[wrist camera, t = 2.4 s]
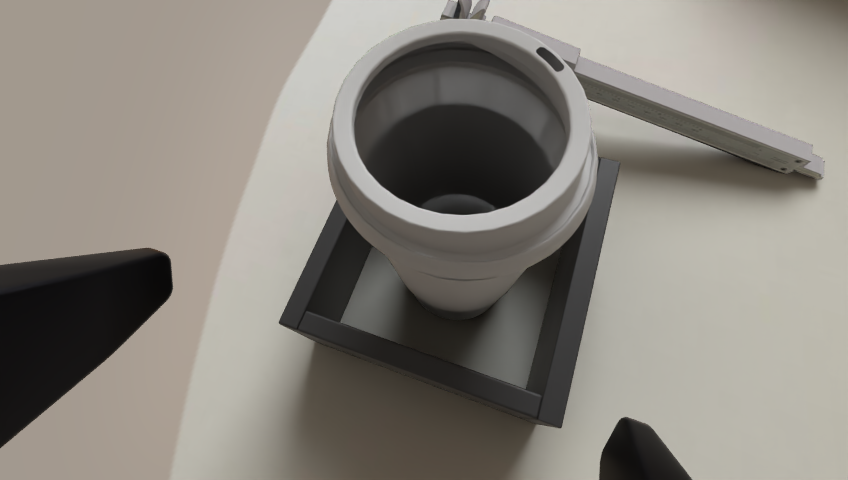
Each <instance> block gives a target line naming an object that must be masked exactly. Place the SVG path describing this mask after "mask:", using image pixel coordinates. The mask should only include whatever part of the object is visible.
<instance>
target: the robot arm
mask: <svg viewBox="0 0 848 480" xmlns="http://www.w3.org/2000/svg"><path fill="white" fill-rule="evenodd" d="M172 290H173V282H172V271H171V260H170V258H169V256H168V255H167V254H166V253H163V252H160V251H158V250H155V249H151V248H142V249H133V250H124V251H116V252H107V253H99V254H90V255H82V256H73V257H65V258H56V259H48V260H39V261H31V262H23V263H14V264H5V265H0V448H1V447H2V446H3V445H4V444H6V443H7V442H8V441H9V440H11V439H12V438H13V437H14V436H15V435H17V434H18V433H19V432H20V431H21V430H23V429H24V428H25V427H26V426H27V425H29V424H30V423H31V422H32V421H33V420H35V419H36V418H37V417H38V416H39V415H41V414H42V413H43V412H44V411H45V410H47V409H48V408H49V407H50V406H51V405H53V404H54V403H55V402H56V401H57V400H59V399H60V398H61V397H62V396H63V395H65V394H66V393H67V392H68V391H69V390H71V389H72V388H73V387H74V386H75V385H76V384H77V383H79V382H80V381H81V380H83V379H84V378H85V377H86V376H87V375H89V374H90V373H91V372H92V371H93V370H94V369H96V368H97V367H98V366H99V365H100V364H101V363H103V362H104V361H105V360H106V359H107V358H109V357H110V356H111V355H112V354H113V353H114V352H115V351H116V350H117V349H118V348H119V347H120V346H121V345H122V344H123V343H124V342H125V341H126V340H127V339H128V338H129V337H130V336H131V335H133V334H134V332H136V331H137V330H138V329H139V328H140V327H141V325H143V323H145V322H146V321H147V320H148V319H149V318H150V317H151V316H152V315H153V314H154V313H155V312H156V311H157V310H158V309H159V308H160V306H162V305H163V304H164V303H165V302H166V301H167V300H168V298H169V297H170V296H171V293H172ZM599 480H692V479H691V477H690V476H689V475H688V474H687V472H686V471H685V470H684V468H683V467H682V466H681V465H680V463H679V462H678V461H677V459H676V458H675V457H674V456H673V454H672V453H671V452H670V451H669V449H668V448H667V447H666V445H665V444H664V443H663V442H662V440H661V439H660V438H659V436H658V435H657V434H656V433H655V431H654V430H653V429H652V428H651V427H650V426H649V425H647V424H645V423H642V422H639V421H637V420H634V419H631V418H628V417H624V418H621V419H620V420H619V422H618V423H617V425H616V427H615V429H614V431H613V432H612V434H611V436H610V438H609V440H608V441H607V443H606V445H605V447H604V449H603V452H602V455H601V460H600V474H599Z"/></svg>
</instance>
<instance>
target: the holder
mask: <svg viewBox="0 0 848 480" xmlns="http://www.w3.org/2000/svg"><path fill="white" fill-rule="evenodd" d="M619 167H620V162H618V161H614V160H610V159H606V158H600V157H598V168H597V181H596V187H595V191H594V196H593V199H592V202H591V204H590V207H589V209H588V212H587V213H586V215H585V217H584V219H583V221H582V222H581V224H580V225H579V227H578V228H577V230H576V231H575V232H574V233H573V235H572V236H571V237H570V238H569V239H568V240H567V241H566V242H565V243H564V244H563V246H562V250H561V254H560V258H559V262H558V266H557V270H556V274H555V277H554V281H553V285H552V289H551V293H550V297H549V301H548V305H547V309H546V313H545V316H544V320H543V324H542V328H541V332H540V336H539V340H538V344H537V348H536V351H535V355H534V359H533V363H532V367H531V371H530V375H529V379H528V383H527V387H526V389H523V388H520V387H518V386H515V385H512V384H509V383H506V382H504V381H501V380H498V379H495V378H493V377H490V376H487V375H484V374H481V373H479V372H476V371H473V370H470V369H468V368H465V367H462V366H459V365H456V364H454V363H451V362H448V361H445V360H443V359H440V358H437V357H434V356H431V355H429V354H426V353H423V352H420V351H418V350H415V349H412V348H409V347H406V346H404V345H401V344H398V343H395V342H393V341H390V340H387V339H384V338H381V337H379V336H376V335H373V334H370V333H368V332H365V331H362V330H359V329H356V328H354V327H351V326H348V325H345V324H343V323H340V320H341V317H342V315H343V313H344V310H345V308H346V305H347V303H348V301H349V298H350V296H351V294H352V291H353V289H354V287H355V284H356V282H357V280H358V277H359V275H360V273H361V270H362V268H363V265H364V263H365V261H366V258H367V256H368V254H369V251H370V249H371V247H372V245H371V244H370V243H369V242H368V241H367V240H366V239H364V238H363V237H362V236H361V234H360V233H359V232H358V231H357V230H356V229H355V228H354V226H353V225H352V224H351V223H350V221H349V220H348V219H347V217H346V216H345V214H344V212H343V211H342V209H341V207H340V205H339V203H338V201H337V200H336V202H335V205H334V207H333V209H332V211H331V213H330V215H329V217H328V219H327V221H326V224H325V226H324V228H323V230H322V232H321V234H320V236H319V238H318V240H317V242H316V245H315V247H314V249H313V251H312V253H311V255H310V257H309V259H308V261H307V263H306V266H305V268H304V270H303V272H302V274H301V276H300V278H299V280H298V282H297V285H296V287H295V289H294V291H293V293H292V295H291V297H290V299H289V301H288V303H287V306H286V308H285V310H284V312H283V314H282V316H281V318H280V320H279V324H280V325H283V326H285V327H287V328H289V329H291V330H293V331H295V332H297V333H299V334H301V335H303V336H305V337H307V338H309V339H311V340H313V341H315V342H318V343H321V344H323V345H326V346H329V347H331V348H334V349H337V350H339V351H342V352H345V353H347V354H350V355H353V356H356V357H358V358H361V359H364V360H366V361H369V362H372V363H374V364H377V365H380V366H382V367H385V368H388V369H390V370H393V371H396V372H398V373H401V374H404V375H406V376H409V377H412V378H414V379H417V380H420V381H422V382H425V383H428V384H430V385H433V386H436V387H438V388H441V389H444V390H446V391H449V392H452V393H455V394H457V395H460V396H463V397H465V398H468V399H471V400H473V401H476V402H479V403H481V404H484V405H487V406H489V407H492V408H495V409H497V410H500V411H503V412H505V413H508V414H511V415H513V416H516V417H519V418H521V419H524V420H527V421H529V422H532V423H535V424H539V425H545V426H550V427H556V428H561V427H562V423H563V419H564V414H565V410H566V405H567V401H568V396H569V392H570V387H571V383H572V378H573V374H574V369H575V365H576V360H577V356H578V351H579V347H580V342H581V338H582V333H583V329H584V324H585V320H586V315H587V311H588V306H589V302H590V297H591V293H592V288H593V284H594V279H595V275H596V270H597V266H598V261H599V257H600V252H601V248H602V243H603V239H604V234H605V230H606V225H607V221H608V216H609V212H610V207H611V203H612V198H613V194H614V189H615V185H616V180H617V176H618V171H619Z"/></svg>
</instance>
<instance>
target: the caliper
mask: <svg viewBox="0 0 848 480" xmlns="http://www.w3.org/2000/svg"><path fill="white" fill-rule="evenodd" d="M489 2H490V0H480V1H479V2H478V3H477V4H476V6H475V7H474V9H473V12H472V14H471V13H469V12H470V9H471V5H472V0H458V2H454V1H451V0H448V2H447V4H446V6H445V9H444V11H443V13H442V15H441V19H440V20H446V19H477V20H483V21H486V20H485V19H486V16H485V15H484V14H485V12H486V9H487V7H488V5H489ZM488 22H490V21H488ZM491 22H494V23H499V24H502V25H505V26H508V27H511V28H514V29H517V30H520V31H522V32H524V33H526V34H528V35H530V36H532V37H534V38H536V39H537V40H539V41H541V42H542V43H544V44H545V45H546V46H547V47H549V48H550V49H551V50H553V51H554V52H555V53H557V54H558V55H559V56H560V57H561V58H562V59H563V61H564V62H565V63H566V64H567V65H568V66H569V67H570V68H571V69H572V70H573V72H574V74H575V76H576V77H577V79H578V81H579V82H580V84H581V86H582V87H583V89H584V92H585V95H586V98H587V99H588V100H591V101H594V102H596V103H599V104H602V105H604V106H607V107H609V108H612V109H615V110H617V111H620V112H623V113H625V114H628V115H631V116H633V117H636V118H638V119H641V120H644V121H646V122H649V123H652V124H654V125H657V126H659V127H662V128H665V129H667V130H670V131H672V132H675V133H678V134H680V135H683V136H685V137H688V138H690V139H693V140H696V141H698V142H701V143H703V144H706V145H709V146H711V147H714V148H716V149H719V150H721V151H724V152H727V153H729V154H732V155H734V156H737V157H739V158H742V159H745V160H747V161H750V162H752V163H755V164H757V165H760V166H763V167H765V168H768V169H770V170H773V171H776V172H779V173H783V174H787V173H790V172H792V171H797V172H799V173H802V174H804V175H807V176H809V177H812V178H815V179H823V178H824V163H825V161H823V158H822V157H820V156H817V155H815V154H812V147H813V145H811V144H809V143H806V142H803V141H801V140H798V139H796V138H793V137H790V136H788V135H785V134H783V133H780V132H777V131H775V130H772V129H770V128H767V127H764V126H762V125H759V124H757V123H754V122H751V121H749V120H746V119H744V118H741V117H738V116H736V115H733V114H731V113H728V112H725V111H723V110H720V109H717V108H715V107H712V106H710V105H707V104H704V103H702V102H699V101H696V100H694V99H691V98H688V97H686V96H683V95H681V94H678V93H675V92H673V91H670V90H667V89H665V88H662V87H659V86H657V85H654V84H652V83H649V82H646V81H644V80H641V79H638V78H636V77H633V76H630V75H628V74H625V73H623V72H620V71H617V70H615V69H612V68H609V67H607V66H604V65H601V64H599V63H596V62H594V61H591V60H588V59H586V58H583V57H580V56H579V54H580V48H577V47H574V46H572V45H569V44H567V43H564V42H562V41H559V40H557V39H554V38H552V37H549V36H547V35H544V34H542V33H539V32H536V31H534V30H531V29H529V28H526V27H524V26H521V25H519V24H516V23H514V22H511V21H509V20H506V19H504V18H501V17H498V16H494V17H493V19H492V21H491Z"/></svg>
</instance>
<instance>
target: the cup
mask: <svg viewBox="0 0 848 480" xmlns="http://www.w3.org/2000/svg"><path fill="white" fill-rule="evenodd" d="M327 160H328V171H329V177H330V181H331V185H332V188H333V191H334V194H335V196H336V199H337V201H338V203H339V205H340V207H341V209H342V211H343V212H344V214H345V216H346V217H347V219H348V220H349V221H350V223H351V224H352V225H353V226H354V228H355V229H356V230H357V231H358V232H359V233H360V234H361V236H362V237H363V238H364V239H366V240H367V241H368V242H369V243H370V244H371V245H373V246H374V247H375V248H376V249H378V250H379V251H380V252H382V253H383V254H384V255H386V256H387V257H388V259H389V261H390V262H391V264H392V265H393V267H394V268H395V270H396V272H397V273H398V275H399V276H400V278H401V280H402V281H403V283H404V284H405V285H406V286H407V287H408V289H409V290H410V291H411V292H412V293H413V294H414V295H415V296H416V298H417V299H418V301H419V302H420V303H421V304H422V305H423V307H425V308H426V309H427V310H428V311H430V312H431V313H433V314H435V315H437V316H439V317H442V318H445V319H451V320H464V319H469V318H473V317H475V316H478V315H480V314H482V313H483V312H485V311H486V310H488V309H489V308H490V307H491V306H492V305H493V304H494V303H495V301H497V300H498V299H500V298H501V297H502V296H503V295H504V294H505V293H507V291H508V290H509V289H510V288H511V287H512V285H513V284H514V283H515V282H516V281H517V279H518V278H519V277H520V276H521V275H522V273H523V272H524V271H525V270H526V268H528V267H530V266H532V265H534V264H536V263H538V262H540V261H541V260H543V259H545V258H546V257H548V256H550V255H551V254H552V253H554V252H555V251H556V250H557V249H559V248H560V247H561V246H562V245H563V244H564V243H565V242H566V241H567V240H568V239H569V238H570V237H571V236H572V235H573V233H574V232H575V231H576V230H577V228H578V227H579V225H580V224H581V222H582V221H583V219H584V217H585V215H586V213H587V212H588V209H589V207H590V204H591V202H592V199H593V196H594V191H595V187H596V181H597V168H598V155H597V146H596V137H595V134H594V132H593V129H592V120H591V111H590V107H589V104H588V101H587V98H586V95H585V92H584V89H583V87H582V86H581V84H580V82H579V81H578V79H577V77H576V76H575V74H574V72H573V70H572V69H571V68H570V67H569V66H568V65H567V64H566V63H565V62H564V61H563V59H562V58H561V57H560V56H559V55H558V54H557V53H555V52H554V51H553V50H551V49H550V48H549V47H547V46H546V45H545V44H544V43H542V42H541V41H539V40H537V39H536V38H534V37H532V36H530V35H528V34H526V33H524V32H522V31H520V30H517V29H514V28H511V27H508V26H505V25H502V24H499V23H494V22H488V21H483V20H477V19H446V20H438V21H431V22H427V23H424V24H420V25H416V26H413V27H409V28H407V29H405V30H403V31H400V32H398V33H396V34H394V35H391V36H389V37H388V38H386V39H385V40H383V41H382V42H380V43H379V44H377V45H376V46H374V47H373V48H371V49H370V50H369V51H368V52H367V53H366V54H365V55H364V56H363V57H362V58H361V59H360V60H359V61H358V62H357V63H356V64H355V65H354V67H353V68H352V69H351V71H350V72H349V74H348V75H347V77H346V78H345V79H344V81H343V84H342V86H341V88H340V90H339V93H338V95H337V97H336V101H335V105H334V110H333V116H332V119H331V123H330V129H329V134H328V140H327Z"/></svg>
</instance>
